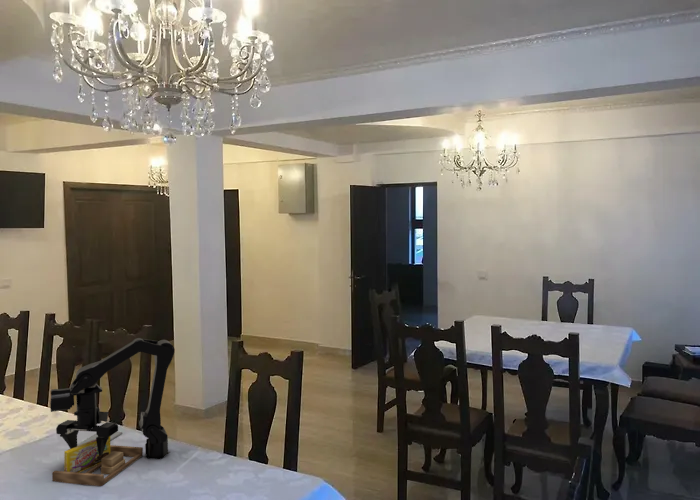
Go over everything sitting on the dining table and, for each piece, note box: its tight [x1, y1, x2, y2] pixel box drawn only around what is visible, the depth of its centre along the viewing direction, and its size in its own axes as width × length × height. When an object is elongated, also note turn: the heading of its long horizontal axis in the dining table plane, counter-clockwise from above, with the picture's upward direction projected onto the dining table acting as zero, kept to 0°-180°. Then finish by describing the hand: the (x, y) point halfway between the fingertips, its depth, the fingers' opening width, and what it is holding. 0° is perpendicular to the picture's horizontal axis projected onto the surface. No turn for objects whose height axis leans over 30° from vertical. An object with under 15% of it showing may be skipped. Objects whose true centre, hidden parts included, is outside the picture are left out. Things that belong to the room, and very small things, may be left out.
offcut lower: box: [100, 458, 126, 476], centre depth 179 cm, size 4×7×2 cm, turn 169°
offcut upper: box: [101, 451, 125, 467], centre depth 179 cm, size 4×6×2 cm, turn 167°
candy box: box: [63, 437, 111, 473], centre depth 181 cm, size 16×2×8 cm, turn 154°
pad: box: [77, 431, 123, 446], centre depth 203 cm, size 9×18×1 cm, turn 169°
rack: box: [51, 444, 144, 487], centre depth 180 cm, size 17×22×3 cm
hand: (88, 454), depth 181 cm, fingers open, 9 cm apart
